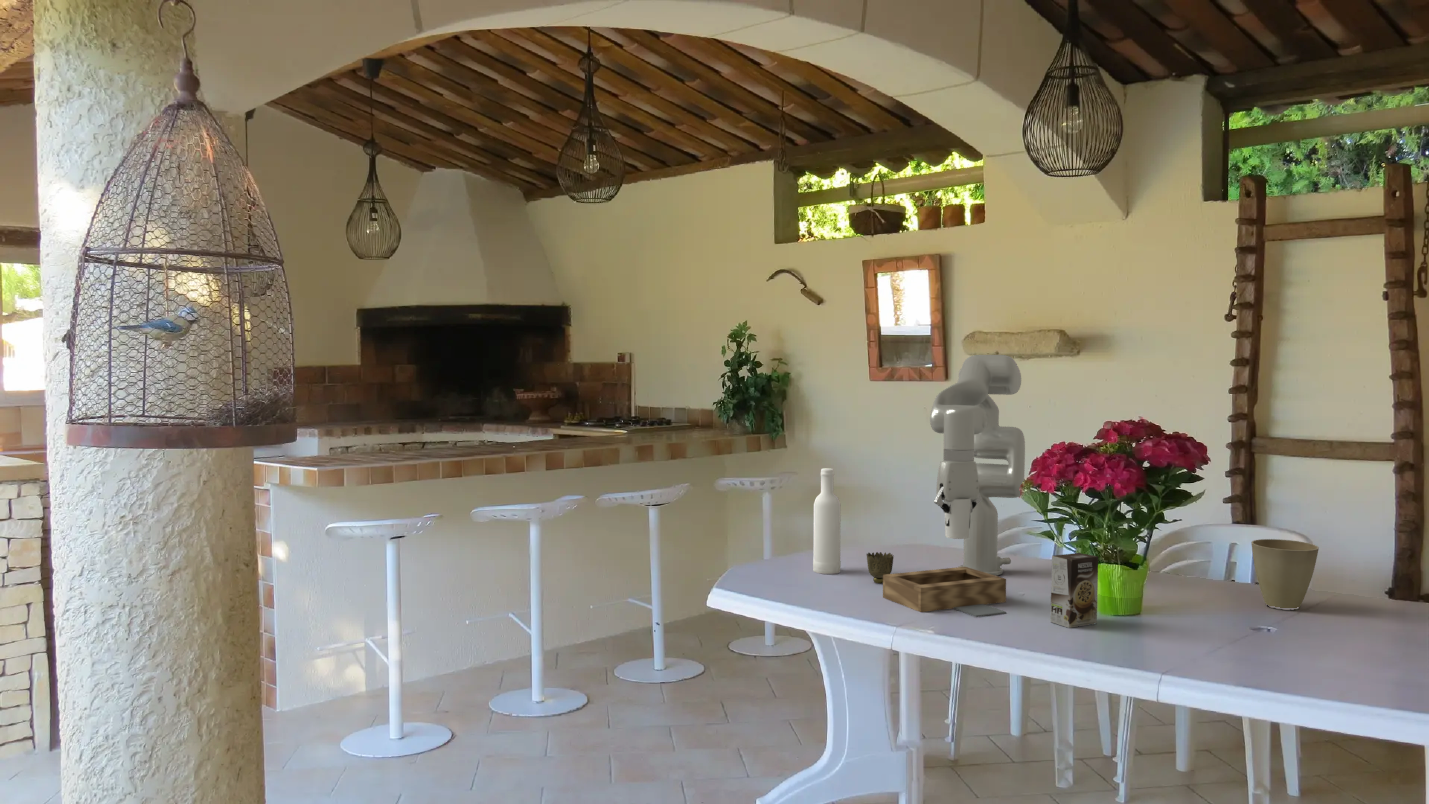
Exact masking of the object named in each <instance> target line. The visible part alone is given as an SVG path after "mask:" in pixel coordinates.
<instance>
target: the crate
mask: <svg viewBox="0 0 1429 804" xmlns="http://www.w3.org/2000/svg"><path fill="white" fill-rule="evenodd" d="M882 599H885V600H888V601H891V602H893V603H896V604H899V605H901V606H903V607H906V608H909V609H910V610H914V611H917V612H919V613H924V612H934V611H941V610H949V609H950V610H951V609H952V610H953V609H954V607H960V606H969V605H977V604H985V605H992V604H1001V603H1002V604H1003V603H1006V602H1007V578H1005V577H1001V576H999V575H997V576H995V575H991V574H988V573H985V572H981V571H978V570H975V569H971V568H968V567H959V566H957V567H949V568H948V567H945V568H940V569H939V568H937V569H928V570H918V571H909V572H899V573H898V572H897V573H891V574H886V575H883V584H882Z"/></svg>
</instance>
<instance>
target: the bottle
mask: <svg viewBox="0 0 1429 804" xmlns="http://www.w3.org/2000/svg"><path fill="white" fill-rule="evenodd" d="M819 475H820V493H819V494H818V495H817V496H816V497H815V500H814V502H813V538H812V539H813V549H812V550H813V553H812V555H813V559H812V569H813V572H814V573H816V574H819V575H820V574H821V575H834V574H835V575H837V574H839V573H840V572H841V566H842V565H841V562H842V561H841V530H842V529H841V521H842V519H841V516H842V515H841V511H842V509H841V502H840V498H839V497H838V496H837V495H836V494H835V493H834V490H835V489H834V483H835V482H834V475H835V471H834V468H830V467H827V468H825V467H823V468H821V469H820V473H819Z"/></svg>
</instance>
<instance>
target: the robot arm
mask: <svg viewBox="0 0 1429 804" xmlns="http://www.w3.org/2000/svg"><path fill="white" fill-rule="evenodd" d="M1021 385H1022V373H1021V370H1020V368H1019V366H1018V364H1017V362H1016V361H1015V359H1014V358H1013V357H1011V356H1009V355H1006V354H976V355H975V354H974V355H971V356H969V357H967V358H966V359H965V360H964V361H963V362H962V365H961V368H960V369H959V371H958V380H957V382H955V383H954V384H951V385H950V386H948V387H947V388H945V389H943V390H941V391H940V392H939V393H937V395H936V397H935V398H934V401H933V404H932V406H931V411H930V416H929V423H930V427H931V429H932V430H933V432H935V433H937V434H943V459H942V460H943V461H940V463H939V467H938V472H937V480H936V491H935V493H936V497H935V498H934V500H933V502H934V504H935V505H937V506H938V507H940V509H942V511H943V513H944V514H945V513H949V514H951V504H950V506H948V505H947V504H945V503H944V498H945V500H946V501H948V502H952V501H954V499H970V498H971V505H970V522H969V538H966V539H963V557H962V559H963V564H962V565H959V566H958V567H968V568H971V569H975V570H978V571H981V572H985V573H988V574H991V575H995V576H1001V575H1002V574H1003V572H1004V570H1003V569H1002V567H1001V566H1003V565H1010V564H1011V563H1012V560H1011V558H1010V557H1003V558H1001V556H999V555H998V543H999V541H998V539H999V538H998V535H999V533H998V531H999V530H998V529H999V525H998V523H999V522H998V521H999V516H998V515H999V514H998V510H997V507H996V505H994V503H993V502H992V501H991V499H990V498H1002V499H1003V498H1004V499H1017V498H1019V497H1021V496H1022V495H1020V491H1019V487H1020V485H1021V484H1022V482H1023V481H1024V482H1025V469H1026V467H1025V466H1026V465H1025V462H1026V441H1025V440H1026V439H1025V435H1024V432H1023V431H1022V429H1020V428H1018V427H1016V426H1002V425H1001V426H1000V425H999V421H1000V420H999V419H1000V418H999V416H1000V409H999V407H998V405H997V403H996V402H995V401H994V399H992V397H991V396H990V395H998V396H999V395H1000V396H1001V395H1003V396H1005V395H1006V396H1008V395H1015V394H1017V393H1018V392H1019V390H1021ZM975 458H976V459H983V460H984V459H985V460H1001V461H1003V460H1004V461H1006V462H1007V464H1006V463H1003V464H999V463H985V462H984V463H981V462H979V463H978V462H976V461H975ZM945 524H946V521H945V520H944V525H945ZM946 526H949V520H948V523H947V525H946Z"/></svg>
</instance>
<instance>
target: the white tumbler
mask: <svg viewBox="0 0 1429 804" xmlns="http://www.w3.org/2000/svg"><path fill="white" fill-rule="evenodd" d="M943 502H944V503H945V504H947V505H948V506H950V504H951V514H949V513H944V522H945V521H946V524H945V523H944V528H945V530H944V531H945V534H944V535H945V538H947V539H954V540H964V539H966V538H969V522H970V505H971V498H970V499H954V501H952V502H948V501H946V500H945V498H944V500H943ZM948 520H949V526H946V525H947V523H948Z"/></svg>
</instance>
